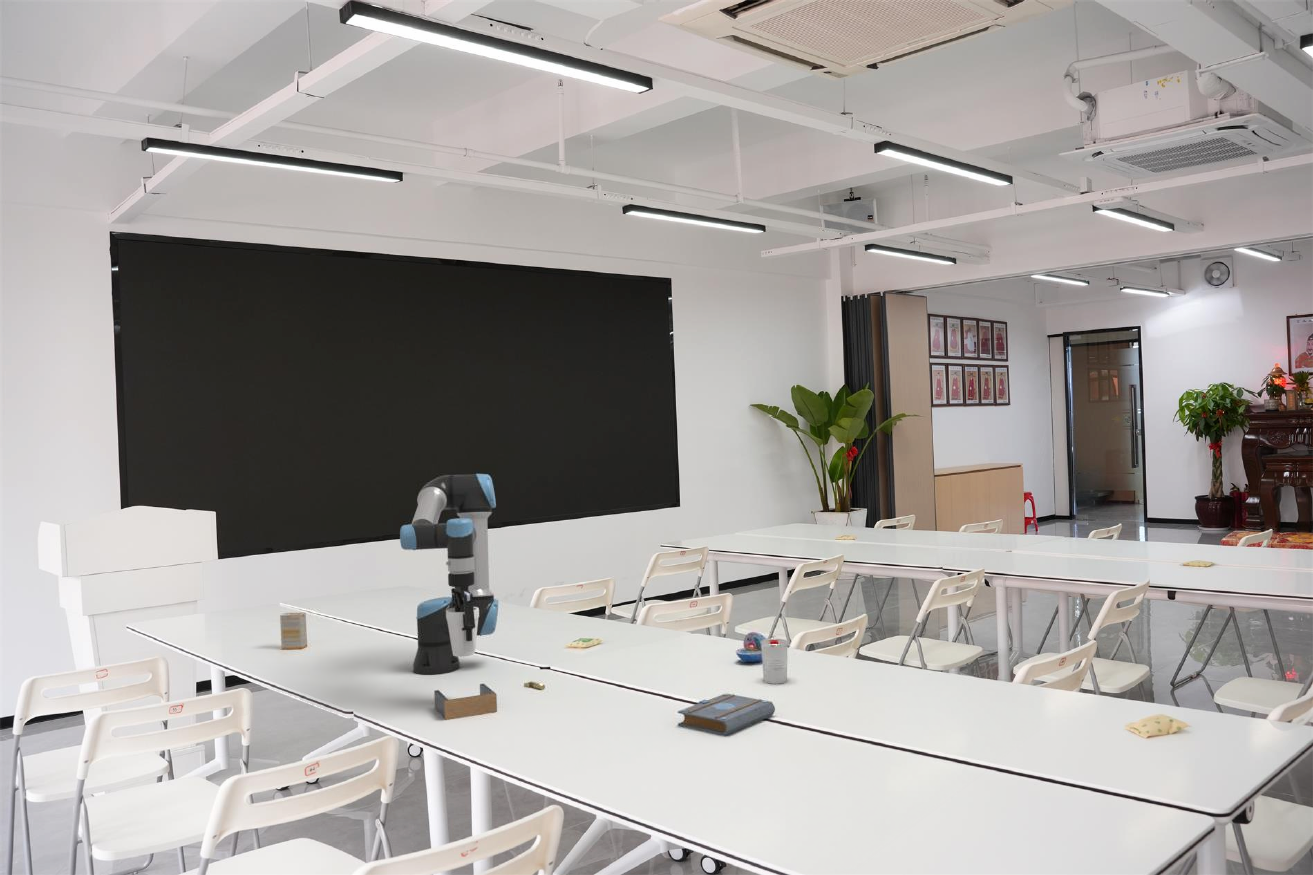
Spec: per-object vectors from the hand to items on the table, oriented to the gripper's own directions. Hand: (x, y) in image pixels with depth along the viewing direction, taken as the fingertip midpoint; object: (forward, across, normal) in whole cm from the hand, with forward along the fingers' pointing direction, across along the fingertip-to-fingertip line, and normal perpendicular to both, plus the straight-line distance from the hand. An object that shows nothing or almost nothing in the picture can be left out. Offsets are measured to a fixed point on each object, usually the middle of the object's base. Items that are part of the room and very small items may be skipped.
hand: (463, 648), depth 283 cm
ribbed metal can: (+15, +32, +87) cm, 94 cm away
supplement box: (+16, -110, -34) cm, 117 cm away
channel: (+15, +9, -3) cm, 18 cm away
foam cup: (+2, 0, 0) cm, 2 cm away
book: (+16, +59, +53) cm, 81 cm away
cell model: (+16, +7, +94) cm, 96 cm away
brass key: (+15, -2, +23) cm, 27 cm away
